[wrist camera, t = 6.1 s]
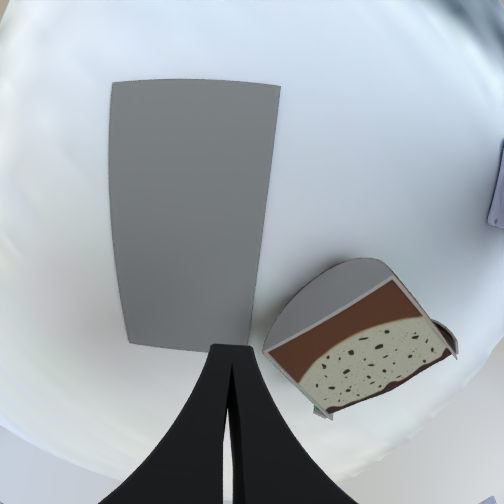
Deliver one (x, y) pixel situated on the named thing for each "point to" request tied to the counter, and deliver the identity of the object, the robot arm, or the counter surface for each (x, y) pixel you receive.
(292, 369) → the food container
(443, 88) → the counter surface
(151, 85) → the mat
